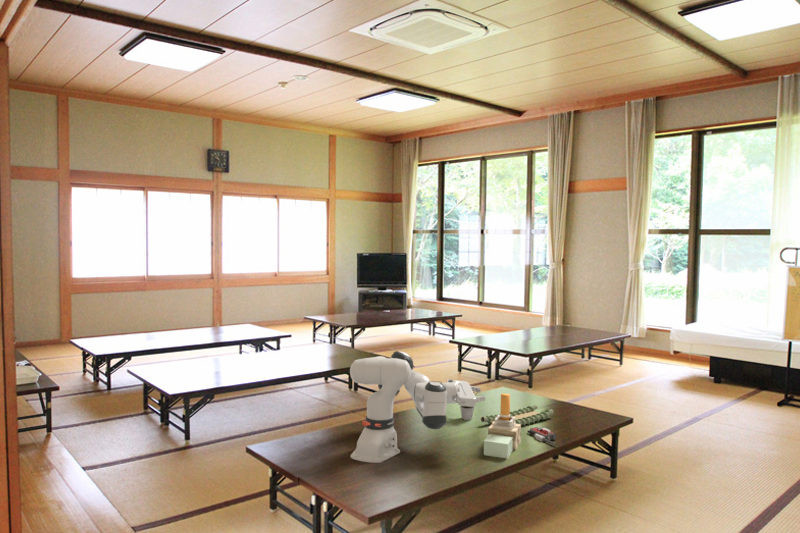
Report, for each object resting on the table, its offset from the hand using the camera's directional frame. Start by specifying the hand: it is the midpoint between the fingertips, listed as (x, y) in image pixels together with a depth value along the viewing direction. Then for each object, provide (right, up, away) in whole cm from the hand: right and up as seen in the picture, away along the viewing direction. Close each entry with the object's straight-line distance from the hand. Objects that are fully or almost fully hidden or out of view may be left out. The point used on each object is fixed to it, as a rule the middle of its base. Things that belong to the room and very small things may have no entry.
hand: (482, 394), depth 244 cm
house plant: (-3, -22, +42) cm, 48 cm away
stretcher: (+23, -23, +38) cm, 50 cm away
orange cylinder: (+10, -14, +4) cm, 18 cm away
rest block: (+6, -23, -7) cm, 25 cm away
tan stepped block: (+10, -23, +4) cm, 26 cm away
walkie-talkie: (+31, -24, +12) cm, 41 cm away
